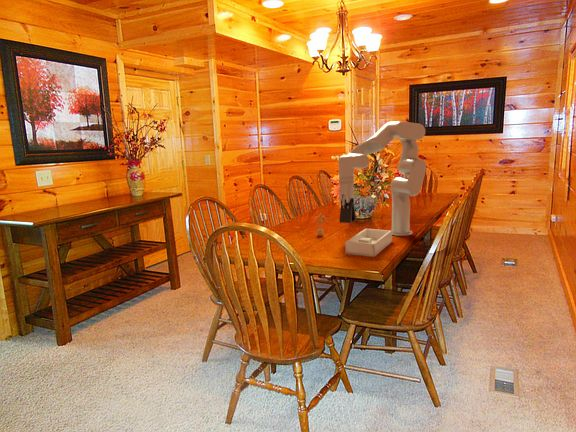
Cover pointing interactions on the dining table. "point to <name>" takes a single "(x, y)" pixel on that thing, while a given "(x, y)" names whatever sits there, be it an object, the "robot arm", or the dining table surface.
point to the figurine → (320, 217)
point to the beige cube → (365, 240)
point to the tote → (369, 249)
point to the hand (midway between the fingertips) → (347, 215)
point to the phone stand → (348, 213)
